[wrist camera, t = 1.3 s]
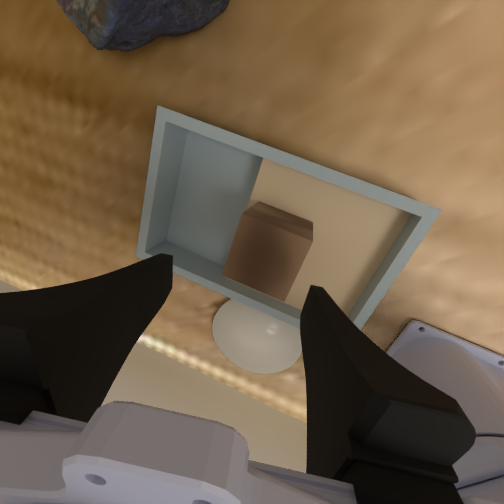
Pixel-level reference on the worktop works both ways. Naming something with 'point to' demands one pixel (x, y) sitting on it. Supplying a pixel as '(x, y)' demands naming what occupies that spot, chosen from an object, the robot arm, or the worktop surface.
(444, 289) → the worktop surface
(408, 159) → the worktop surface
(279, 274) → the block
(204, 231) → the caddy
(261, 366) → the coaster
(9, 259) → the worktop surface
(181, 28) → the rock
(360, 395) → the robot arm
